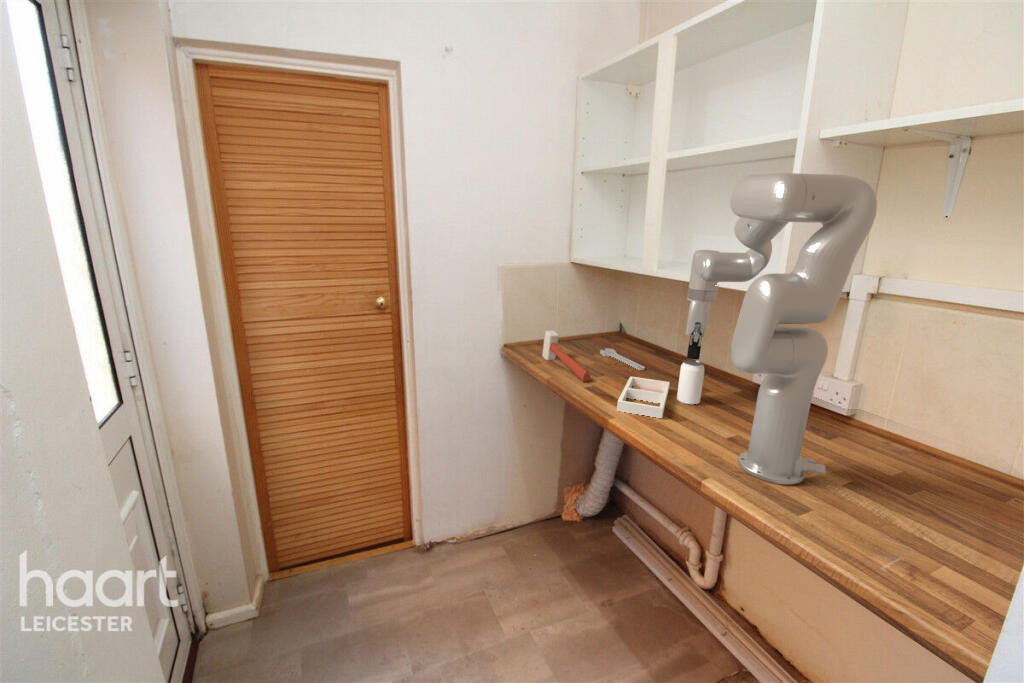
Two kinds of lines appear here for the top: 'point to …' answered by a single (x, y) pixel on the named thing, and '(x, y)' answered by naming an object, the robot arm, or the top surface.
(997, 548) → the top surface
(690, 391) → the can
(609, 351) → the adjustable wrench
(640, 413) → the caddy
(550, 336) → the mallet
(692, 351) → the robot arm
